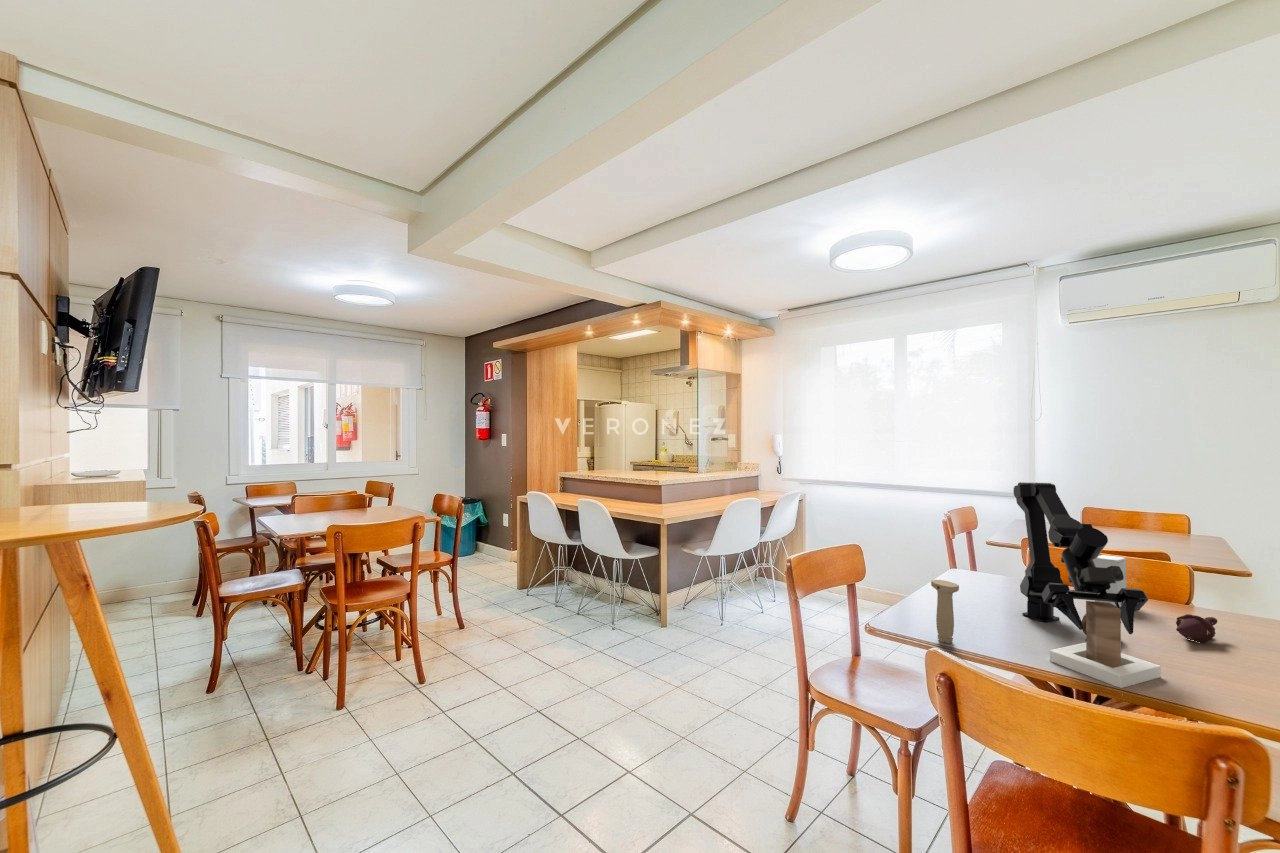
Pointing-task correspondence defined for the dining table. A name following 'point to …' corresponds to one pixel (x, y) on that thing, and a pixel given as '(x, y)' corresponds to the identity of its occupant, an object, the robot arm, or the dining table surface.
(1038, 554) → the robot arm
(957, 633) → the dining table surface
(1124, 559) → the skincare box
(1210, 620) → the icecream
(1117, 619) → the peg
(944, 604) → the handle
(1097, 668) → the socket block
